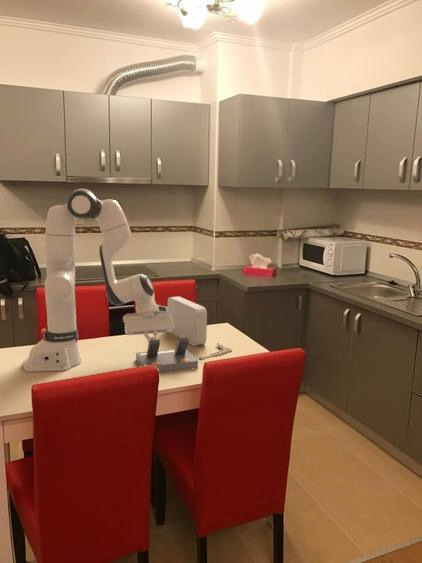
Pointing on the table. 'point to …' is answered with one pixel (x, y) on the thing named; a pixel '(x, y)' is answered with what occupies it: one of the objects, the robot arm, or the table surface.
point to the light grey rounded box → (188, 320)
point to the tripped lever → (153, 348)
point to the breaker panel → (168, 360)
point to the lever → (181, 346)
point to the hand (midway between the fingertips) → (152, 342)
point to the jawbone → (220, 353)
